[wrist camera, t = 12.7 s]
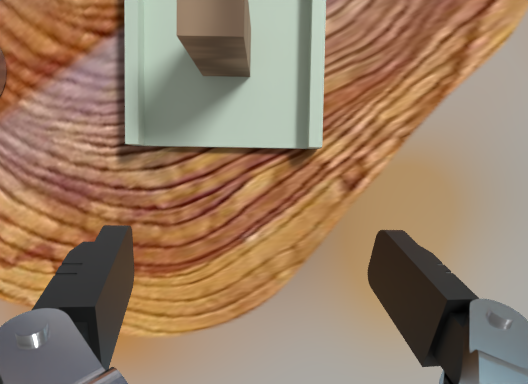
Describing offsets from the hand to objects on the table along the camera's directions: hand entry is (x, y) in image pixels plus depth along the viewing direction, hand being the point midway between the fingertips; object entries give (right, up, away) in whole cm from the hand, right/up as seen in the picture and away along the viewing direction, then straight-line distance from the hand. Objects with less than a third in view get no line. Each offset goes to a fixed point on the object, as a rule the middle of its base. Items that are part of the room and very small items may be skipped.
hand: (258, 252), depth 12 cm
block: (-3, +15, +22) cm, 27 cm away
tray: (-3, +15, +23) cm, 28 cm away
